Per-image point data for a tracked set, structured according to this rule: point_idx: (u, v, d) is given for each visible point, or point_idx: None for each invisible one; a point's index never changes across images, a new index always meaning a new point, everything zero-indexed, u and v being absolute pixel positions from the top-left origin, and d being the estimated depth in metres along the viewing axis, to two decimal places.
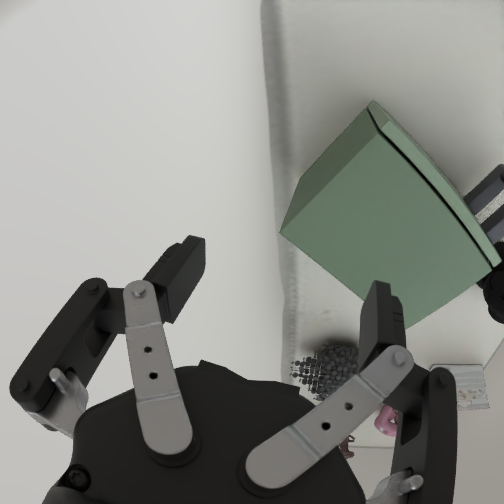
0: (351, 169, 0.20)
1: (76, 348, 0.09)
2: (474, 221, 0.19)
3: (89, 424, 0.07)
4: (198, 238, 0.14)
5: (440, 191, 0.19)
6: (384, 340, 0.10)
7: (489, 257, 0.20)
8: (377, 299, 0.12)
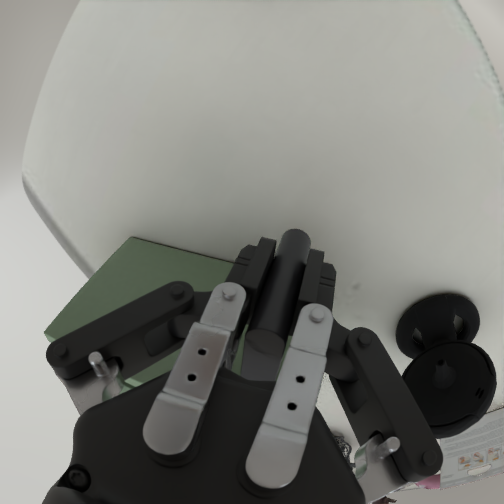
0: None
1: (131, 342, 0.10)
2: None
3: (89, 424, 0.07)
4: (272, 240, 0.14)
5: None
6: (306, 299, 0.11)
7: None
8: (307, 264, 0.13)
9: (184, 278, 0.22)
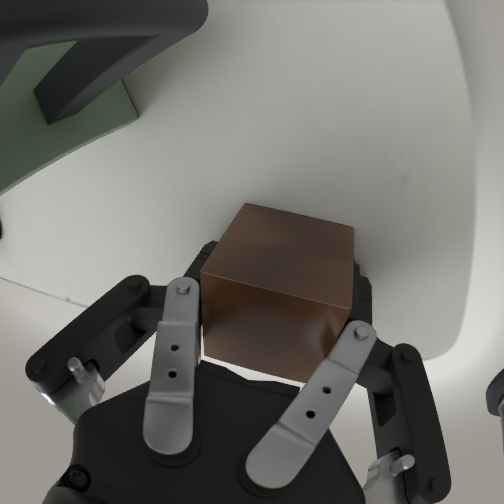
0: None
1: (103, 342, 0.09)
2: None
3: (89, 424, 0.07)
4: None
5: None
6: (348, 316, 0.11)
7: None
8: None
9: None
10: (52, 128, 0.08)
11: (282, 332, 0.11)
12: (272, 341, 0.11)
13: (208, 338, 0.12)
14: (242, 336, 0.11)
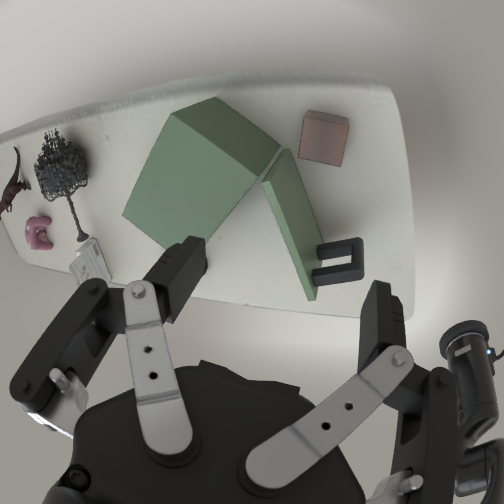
0: (229, 161, 0.29)
1: (76, 348, 0.09)
2: (301, 265, 0.34)
3: (89, 424, 0.07)
4: (198, 238, 0.14)
5: (284, 236, 0.33)
6: (384, 340, 0.10)
7: (306, 293, 0.36)
8: (377, 299, 0.12)
9: (303, 202, 0.39)
10: (319, 261, 0.41)
11: (328, 137, 0.32)
12: (325, 143, 0.32)
13: (301, 146, 0.33)
14: (315, 142, 0.32)
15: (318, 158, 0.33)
